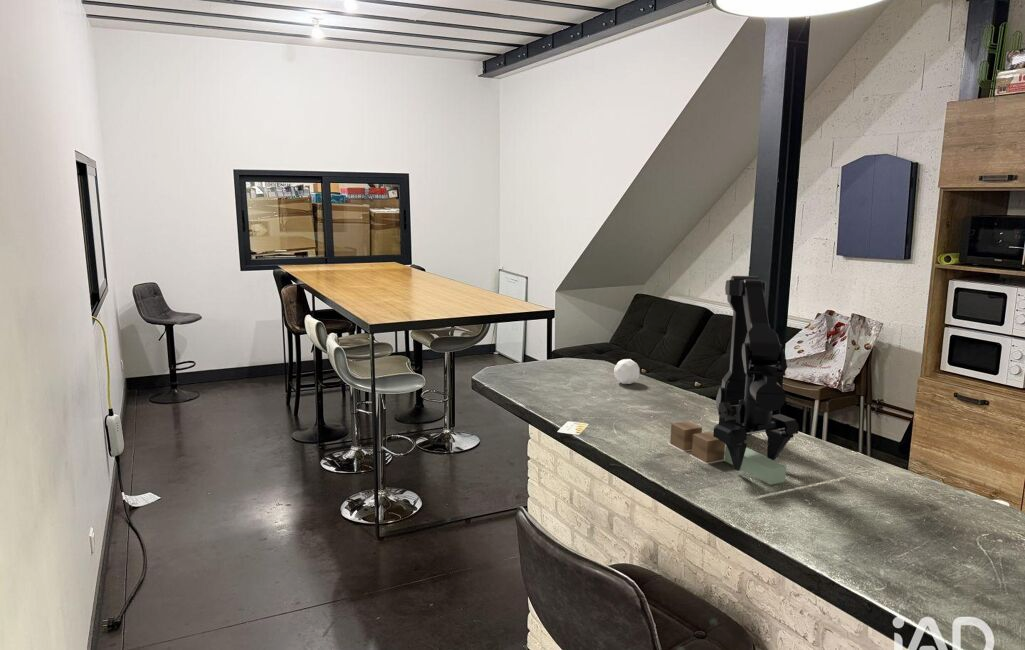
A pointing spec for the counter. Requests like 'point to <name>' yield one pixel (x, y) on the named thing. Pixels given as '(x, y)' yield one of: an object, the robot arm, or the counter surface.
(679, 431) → the brown wooden cube
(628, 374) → the white faceted ovoid
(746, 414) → the robot arm
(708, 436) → the tan wood block
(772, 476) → the plank
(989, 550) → the counter surface
